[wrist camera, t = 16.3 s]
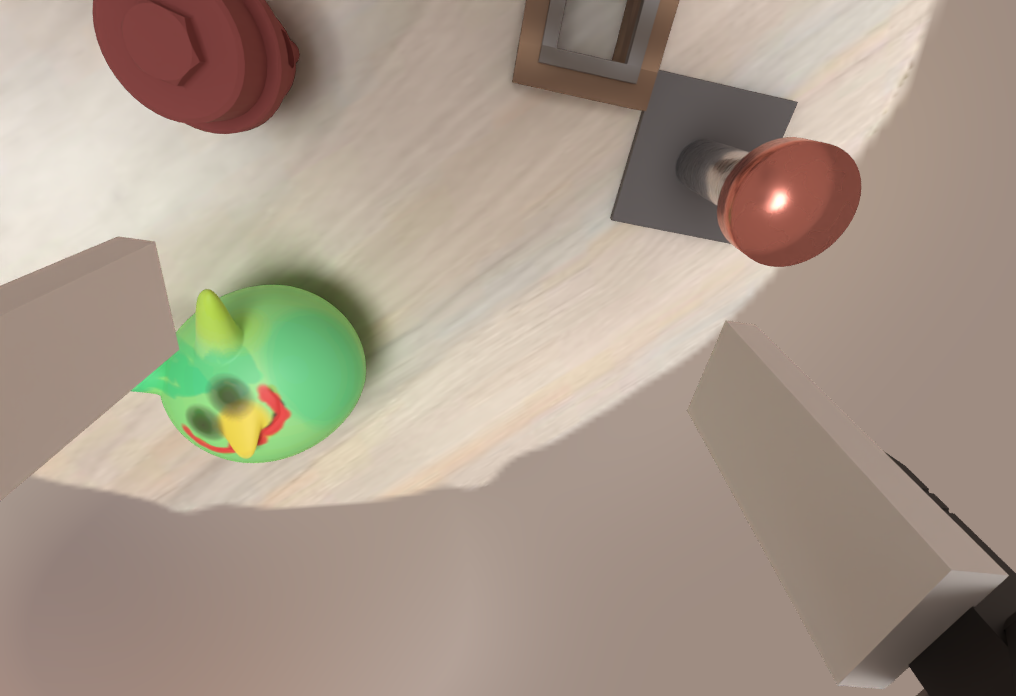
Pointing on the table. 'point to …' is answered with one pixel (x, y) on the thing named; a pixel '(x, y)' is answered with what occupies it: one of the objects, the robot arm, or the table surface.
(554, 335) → the table surface
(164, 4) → the mechanical component
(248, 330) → the toy bird
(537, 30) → the eye block
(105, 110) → the table surface
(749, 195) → the peg
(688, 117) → the rubber mat
